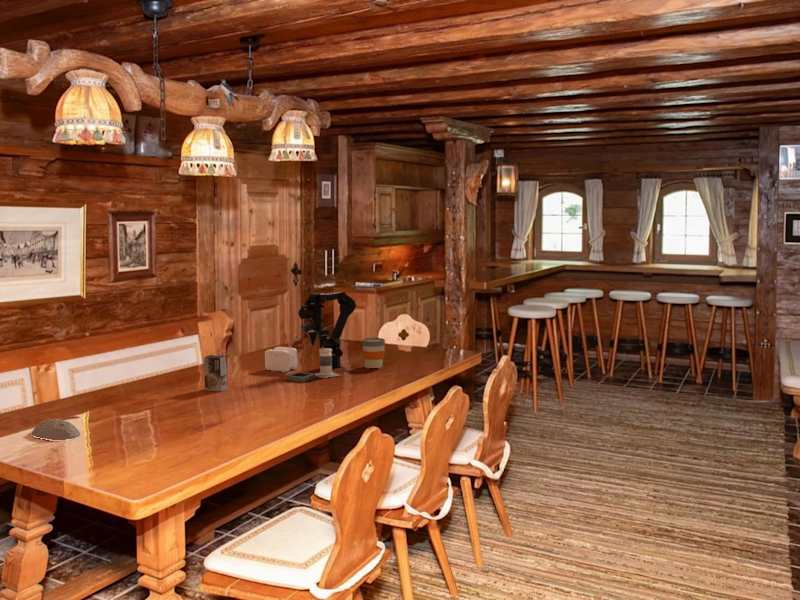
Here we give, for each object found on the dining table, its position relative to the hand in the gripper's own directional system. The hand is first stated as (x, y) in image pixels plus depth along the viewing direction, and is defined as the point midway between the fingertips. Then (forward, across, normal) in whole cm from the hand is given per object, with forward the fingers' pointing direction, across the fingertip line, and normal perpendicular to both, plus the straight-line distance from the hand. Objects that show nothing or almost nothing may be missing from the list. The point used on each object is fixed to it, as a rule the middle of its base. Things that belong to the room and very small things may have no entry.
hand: (316, 346), depth 411 cm
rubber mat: (+13, +14, -2) cm, 19 cm away
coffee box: (+13, +14, -60) cm, 63 cm away
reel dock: (+13, +16, -17) cm, 26 cm away
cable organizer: (+13, -12, -15) cm, 23 cm away
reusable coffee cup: (+13, +8, +30) cm, 34 cm away
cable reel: (+12, +14, -2) cm, 19 cm away
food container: (+14, +53, -137) cm, 147 cm away
